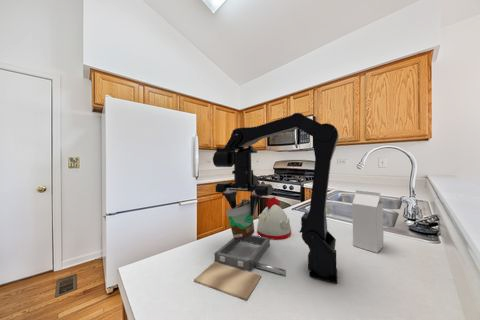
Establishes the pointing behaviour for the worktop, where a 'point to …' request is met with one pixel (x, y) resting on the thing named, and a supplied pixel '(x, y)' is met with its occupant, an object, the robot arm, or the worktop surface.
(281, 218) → the white knit beanie
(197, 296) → the worktop surface
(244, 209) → the food container
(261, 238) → the case
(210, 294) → the worktop surface
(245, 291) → the pad
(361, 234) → the milk carton
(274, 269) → the rod
